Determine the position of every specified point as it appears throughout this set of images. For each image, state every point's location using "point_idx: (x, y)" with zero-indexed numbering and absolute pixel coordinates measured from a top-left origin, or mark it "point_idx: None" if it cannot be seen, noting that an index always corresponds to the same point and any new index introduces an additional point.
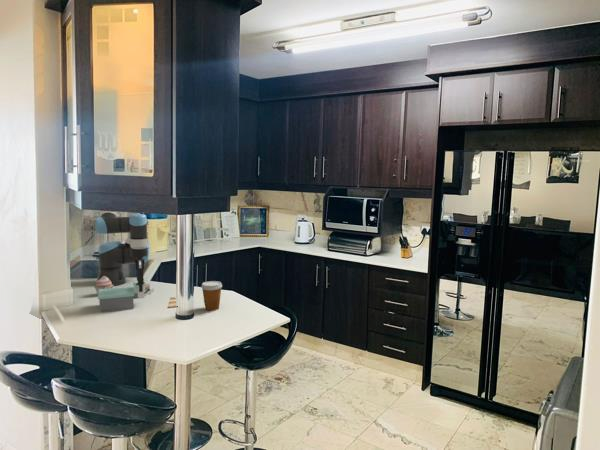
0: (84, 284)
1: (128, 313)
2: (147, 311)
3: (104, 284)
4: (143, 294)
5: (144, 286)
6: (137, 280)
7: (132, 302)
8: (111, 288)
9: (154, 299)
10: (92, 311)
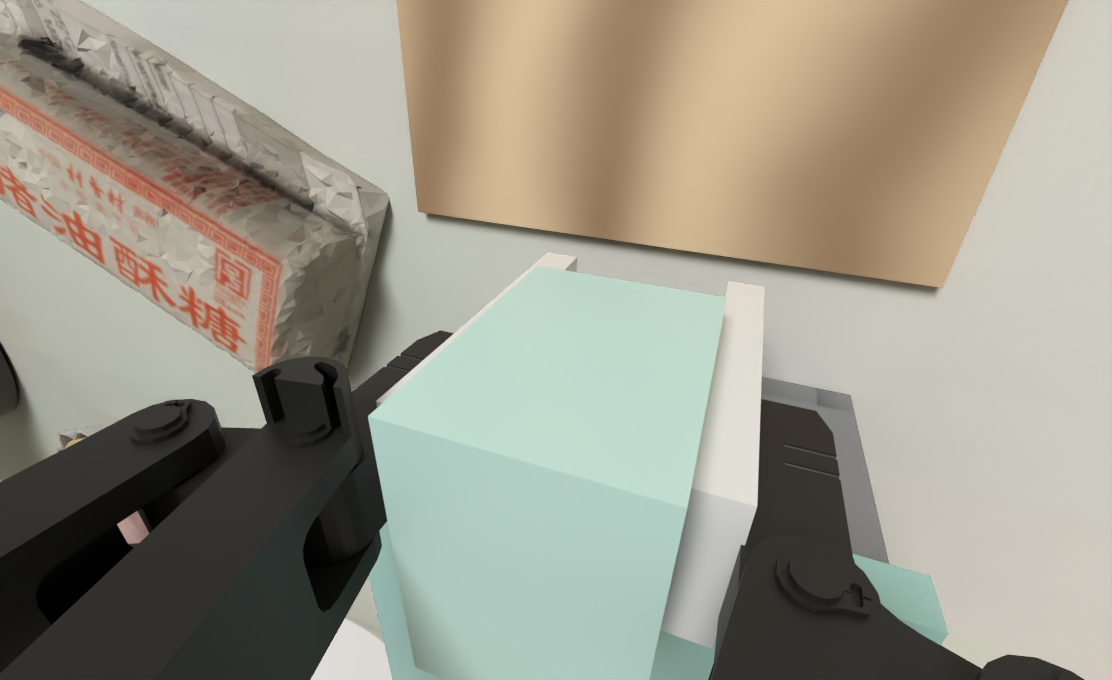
0: (13, 460)
1: (928, 473)
2: (1057, 225)
3: (137, 539)
4: (762, 333)
5: (705, 404)
6: (364, 577)
7: (865, 493)
8: (391, 663)
9: (380, 3)
10: None
